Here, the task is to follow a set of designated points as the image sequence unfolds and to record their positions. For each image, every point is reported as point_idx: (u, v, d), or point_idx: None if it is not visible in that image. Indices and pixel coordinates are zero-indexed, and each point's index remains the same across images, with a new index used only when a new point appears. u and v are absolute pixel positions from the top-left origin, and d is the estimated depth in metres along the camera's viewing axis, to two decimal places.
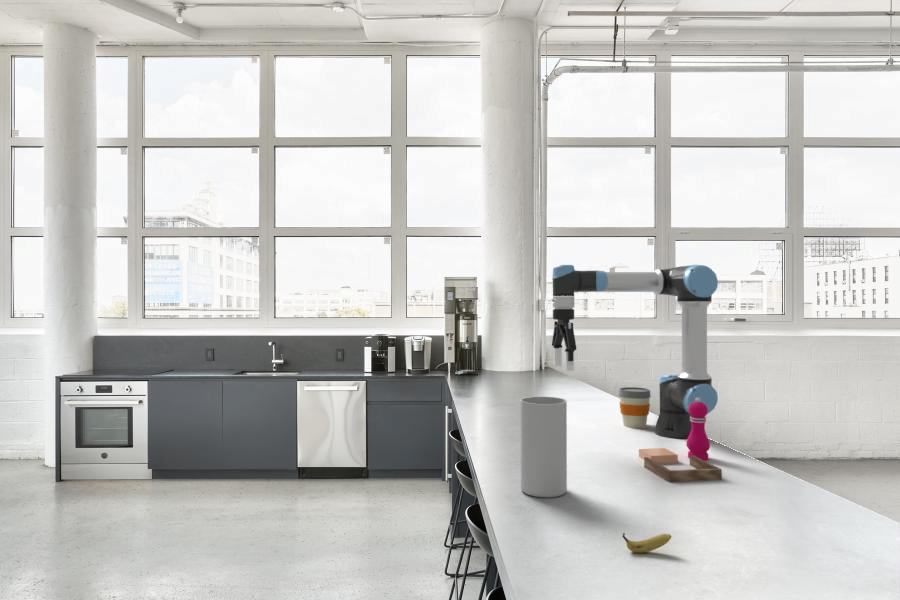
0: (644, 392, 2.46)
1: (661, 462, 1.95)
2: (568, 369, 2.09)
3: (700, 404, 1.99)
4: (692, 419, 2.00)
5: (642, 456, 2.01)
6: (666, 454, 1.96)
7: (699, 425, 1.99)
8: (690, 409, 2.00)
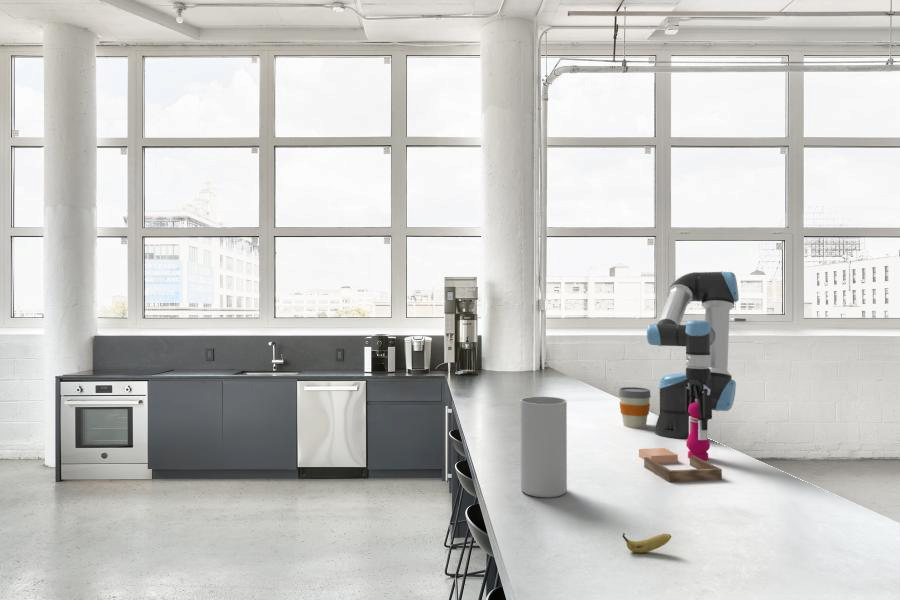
0: (644, 392, 2.46)
1: (661, 462, 1.95)
2: (701, 438, 1.98)
3: None
4: (692, 419, 2.00)
5: (642, 456, 2.01)
6: (666, 454, 1.96)
7: None
8: (690, 409, 2.00)
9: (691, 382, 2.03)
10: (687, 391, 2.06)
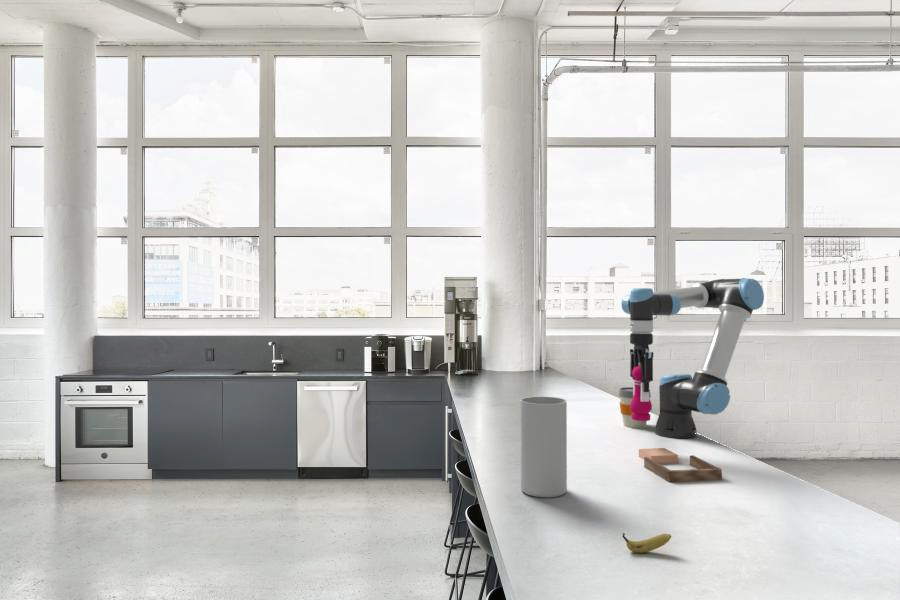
0: None
1: (661, 462, 1.95)
2: (643, 400, 2.08)
3: None
4: (635, 382, 2.10)
5: (642, 456, 2.01)
6: (666, 454, 1.96)
7: None
8: (633, 372, 2.10)
9: (635, 347, 2.13)
10: (632, 356, 2.16)
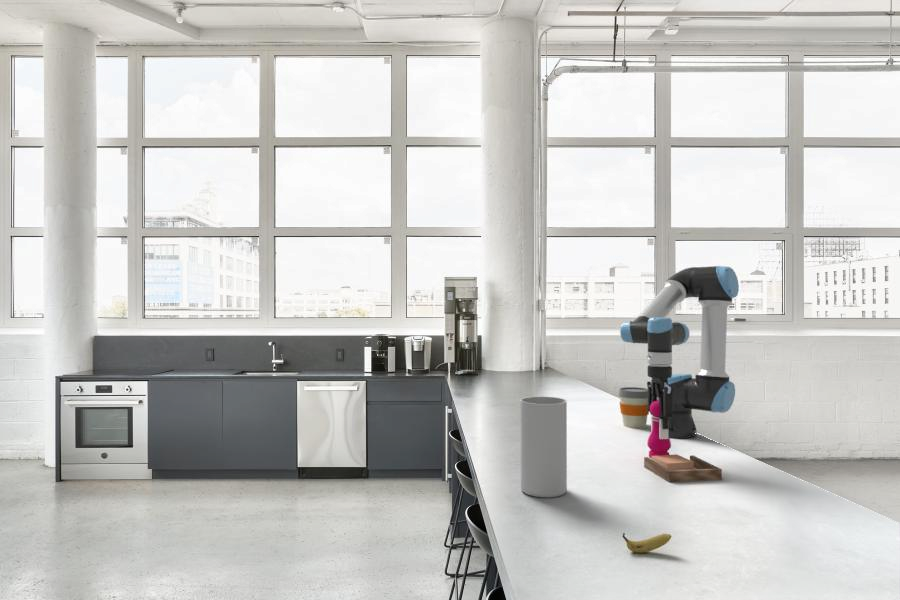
0: (644, 392, 2.46)
1: None
2: (662, 437, 1.94)
3: None
4: (653, 418, 1.97)
5: None
6: (681, 461, 1.87)
7: None
8: (651, 408, 1.97)
9: (653, 380, 2.00)
10: (650, 389, 2.03)
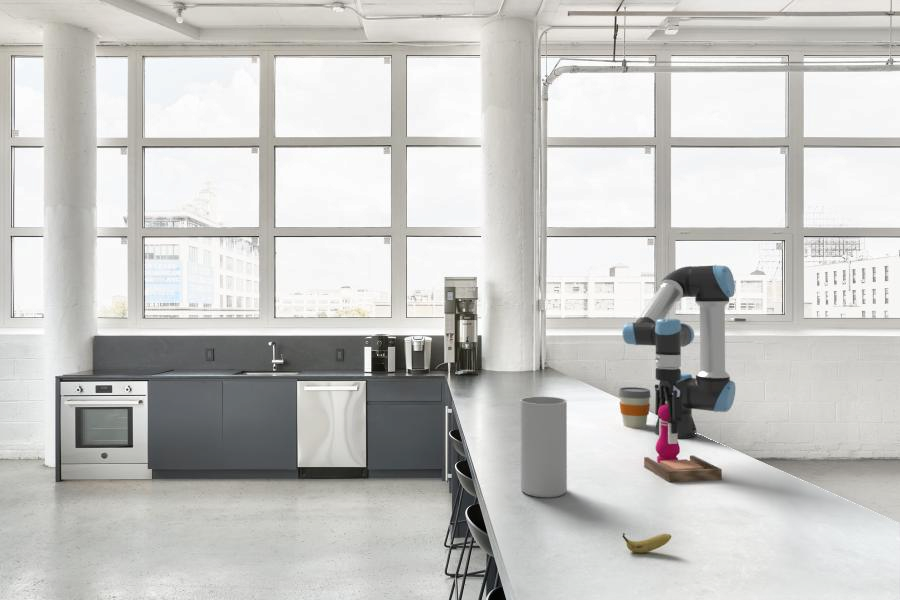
0: (644, 392, 2.46)
1: None
2: (671, 442, 1.89)
3: None
4: (661, 422, 1.92)
5: None
6: (691, 466, 1.82)
7: None
8: (659, 412, 1.92)
9: (661, 383, 1.94)
10: (657, 392, 1.97)
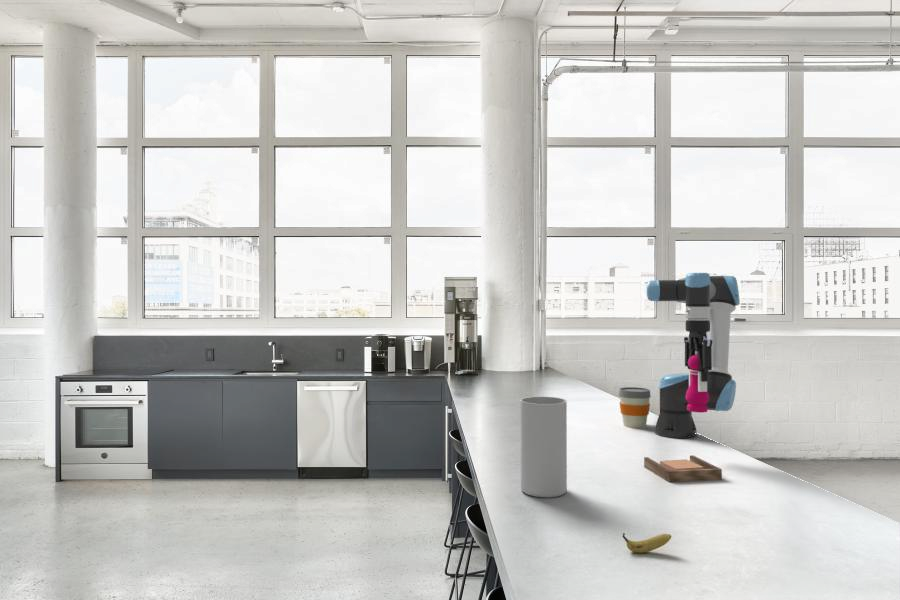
0: (644, 392, 2.46)
1: None
2: (701, 390, 1.98)
3: None
4: (691, 371, 2.00)
5: None
6: (691, 466, 1.82)
7: None
8: (689, 361, 2.00)
9: (691, 335, 2.03)
10: (687, 345, 2.06)
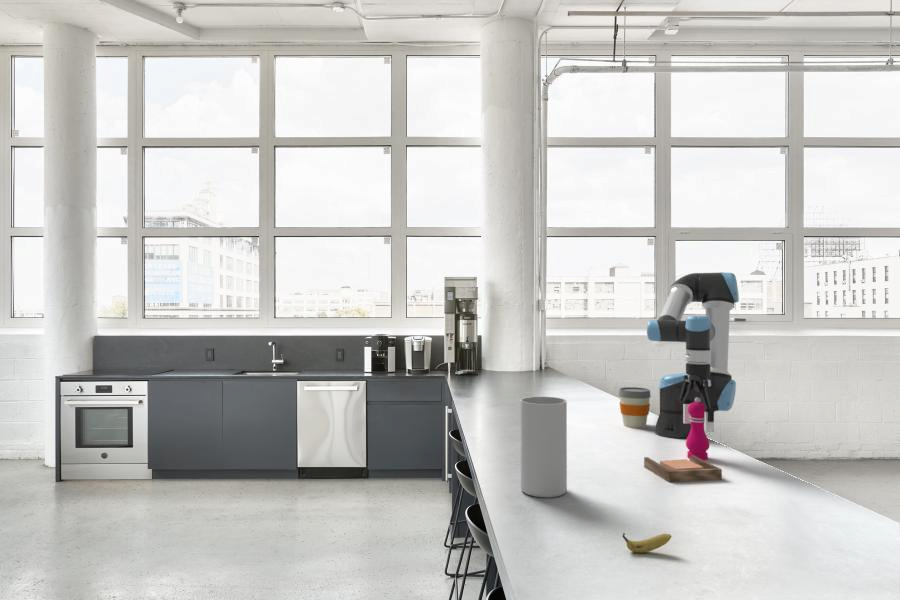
0: (644, 392, 2.46)
1: None
2: (708, 430, 1.94)
3: (699, 404, 2.00)
4: (691, 419, 2.01)
5: None
6: (691, 466, 1.82)
7: (698, 425, 1.99)
8: (689, 409, 2.01)
9: (691, 379, 2.03)
10: (685, 383, 2.07)
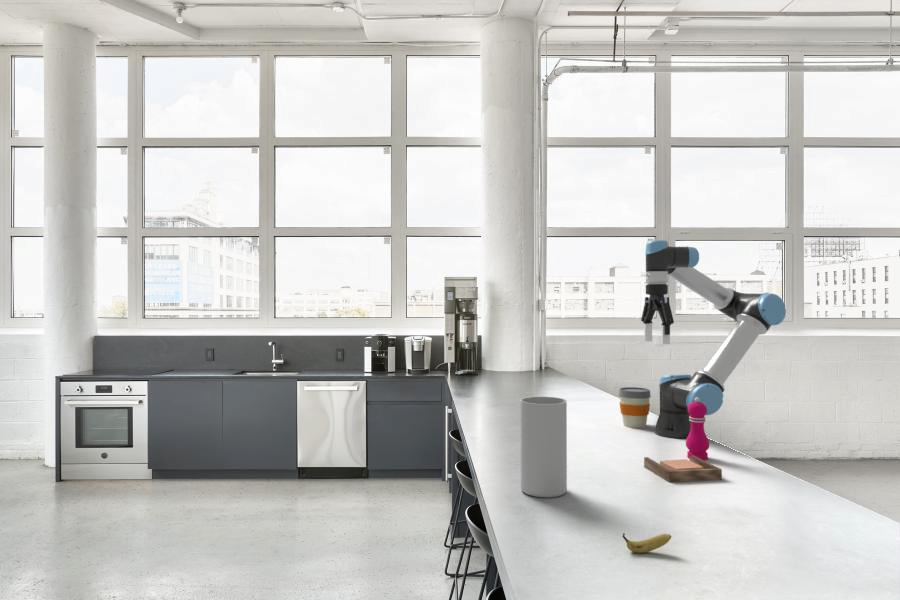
0: (644, 392, 2.46)
1: None
2: (664, 343, 2.12)
3: (699, 404, 2.00)
4: (691, 419, 2.01)
5: None
6: (691, 466, 1.82)
7: (698, 425, 2.00)
8: (689, 409, 2.01)
9: (651, 299, 2.21)
10: (646, 304, 2.25)
